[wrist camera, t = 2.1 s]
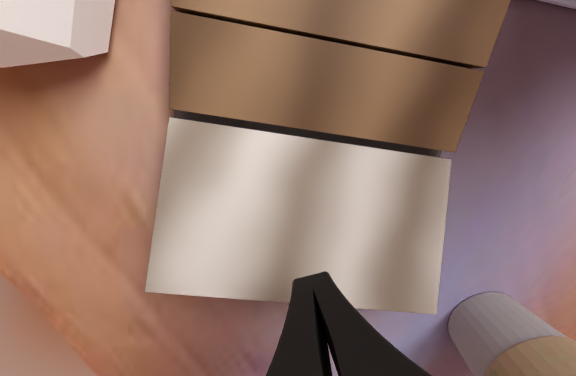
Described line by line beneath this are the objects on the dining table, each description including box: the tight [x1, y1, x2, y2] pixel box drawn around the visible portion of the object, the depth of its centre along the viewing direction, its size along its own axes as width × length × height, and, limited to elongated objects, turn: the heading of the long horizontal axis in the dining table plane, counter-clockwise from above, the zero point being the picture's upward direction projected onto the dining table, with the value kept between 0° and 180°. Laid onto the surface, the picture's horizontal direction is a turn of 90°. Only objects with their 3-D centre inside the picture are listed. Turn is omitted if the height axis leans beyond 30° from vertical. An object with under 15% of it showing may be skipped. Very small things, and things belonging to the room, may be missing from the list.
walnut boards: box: [169, 0, 511, 152], centre depth 15 cm, size 16×9×2 cm, turn 81°
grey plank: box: [145, 117, 452, 315], centre depth 16 cm, size 16×9×2 cm, turn 81°
